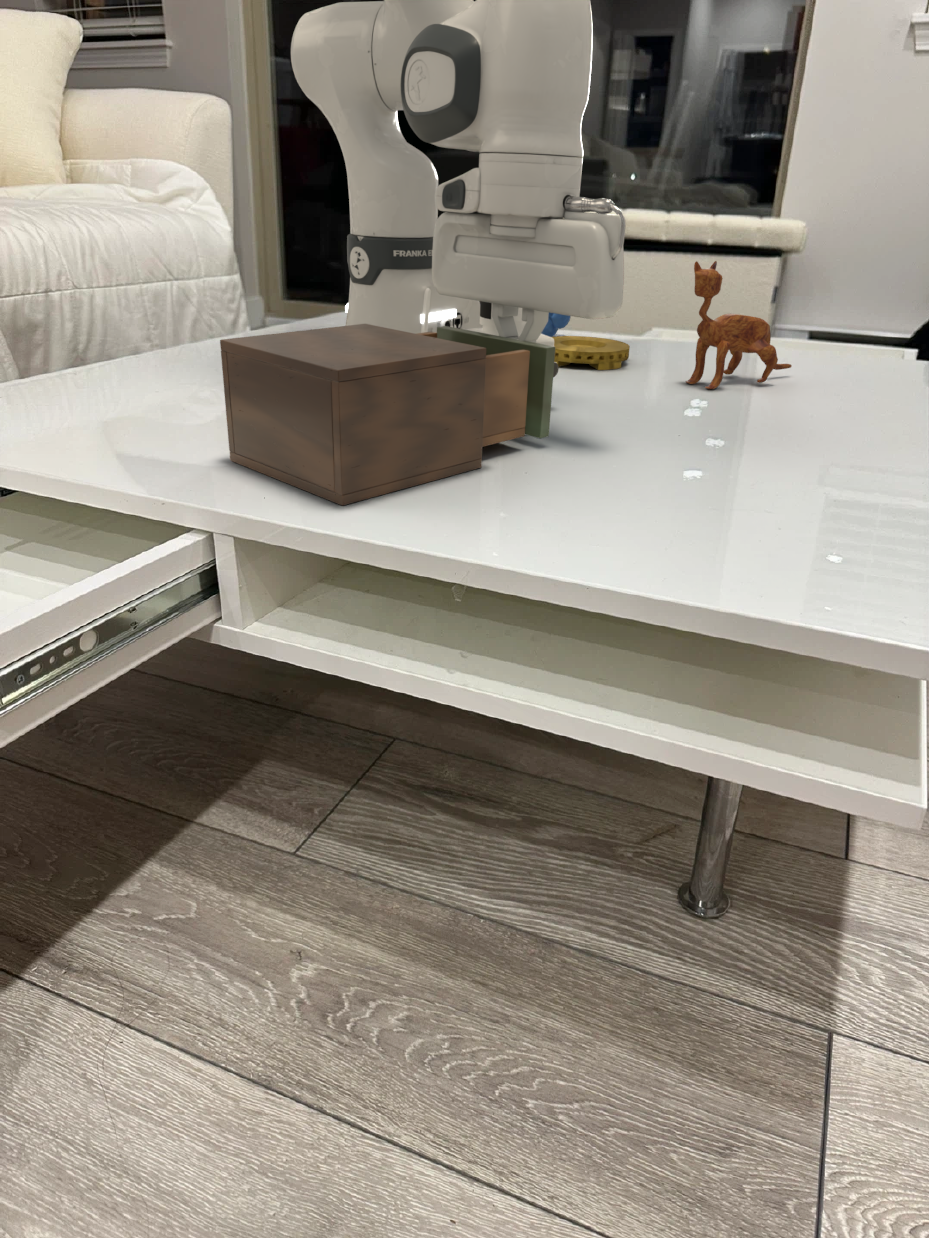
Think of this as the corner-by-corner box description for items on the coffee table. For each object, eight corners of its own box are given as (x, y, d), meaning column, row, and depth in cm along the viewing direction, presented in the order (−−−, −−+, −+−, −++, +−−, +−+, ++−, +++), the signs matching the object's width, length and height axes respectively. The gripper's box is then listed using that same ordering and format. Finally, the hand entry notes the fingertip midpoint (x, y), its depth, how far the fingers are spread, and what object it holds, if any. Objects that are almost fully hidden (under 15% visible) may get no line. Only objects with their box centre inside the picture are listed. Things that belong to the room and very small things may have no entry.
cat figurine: (768, 371, 116) (789, 256, 110) (810, 381, 111) (833, 262, 105) (663, 382, 108) (679, 259, 101) (703, 394, 103) (722, 265, 96)
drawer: (476, 401, 92) (480, 321, 88) (581, 428, 84) (589, 341, 80) (334, 430, 80) (332, 339, 76) (440, 465, 72) (442, 364, 68)
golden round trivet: (629, 356, 123) (631, 339, 122) (625, 373, 112) (627, 355, 111) (542, 350, 125) (543, 333, 124) (529, 366, 114) (531, 348, 113)
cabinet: (367, 431, 83) (365, 323, 79) (481, 467, 74) (486, 347, 70) (229, 460, 74) (219, 339, 70) (342, 506, 65) (338, 370, 61)
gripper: (649, 200, 74) (628, 373, 80) (470, 190, 86) (464, 339, 92) (603, 198, 70) (584, 380, 76) (422, 188, 82) (419, 344, 88)
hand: (517, 357), depth 84 cm, fingers closed, pressing on drawer
